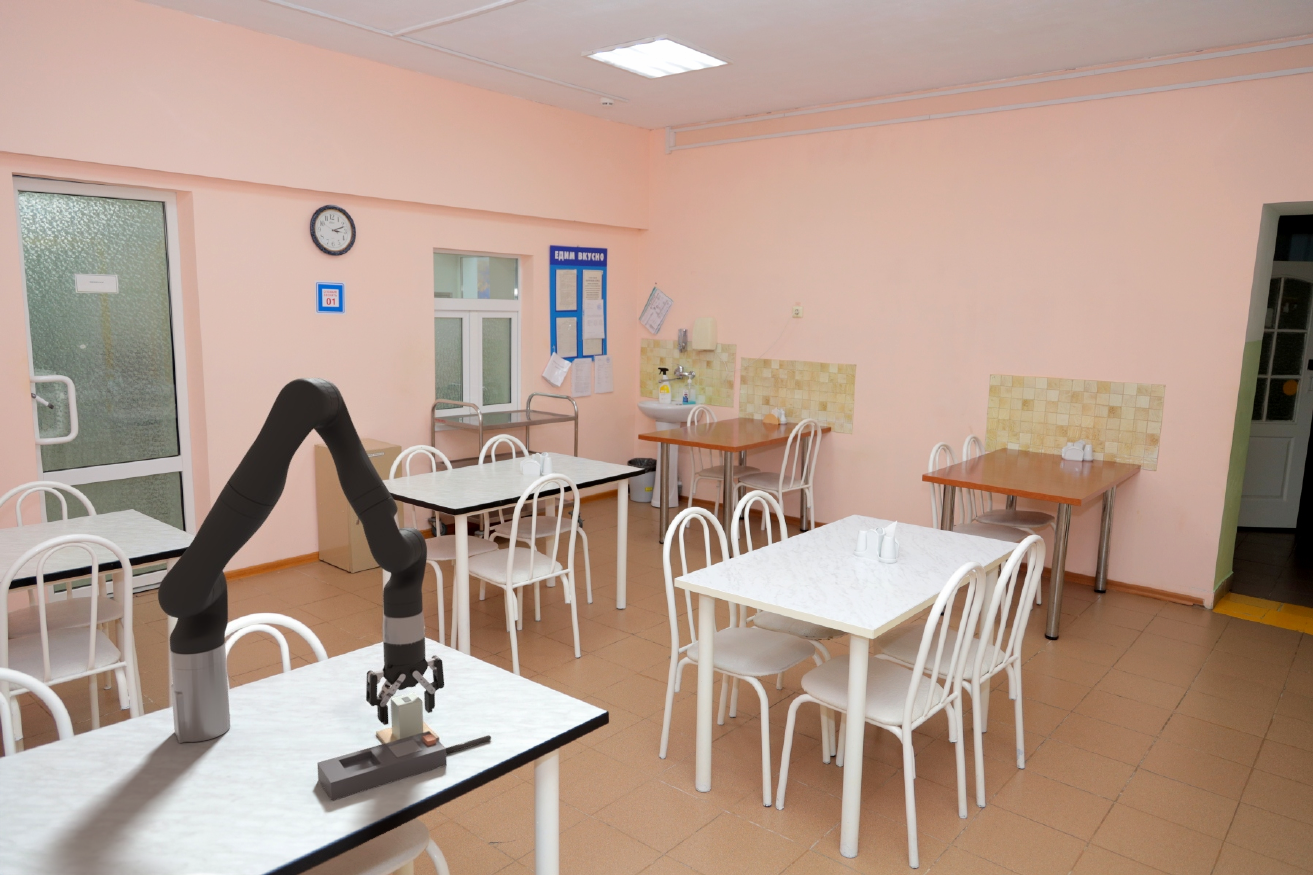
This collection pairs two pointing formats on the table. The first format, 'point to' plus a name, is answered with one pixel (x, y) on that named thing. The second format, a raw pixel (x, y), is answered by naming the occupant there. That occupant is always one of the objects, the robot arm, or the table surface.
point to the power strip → (385, 764)
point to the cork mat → (389, 737)
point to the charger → (406, 715)
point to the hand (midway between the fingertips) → (406, 716)
